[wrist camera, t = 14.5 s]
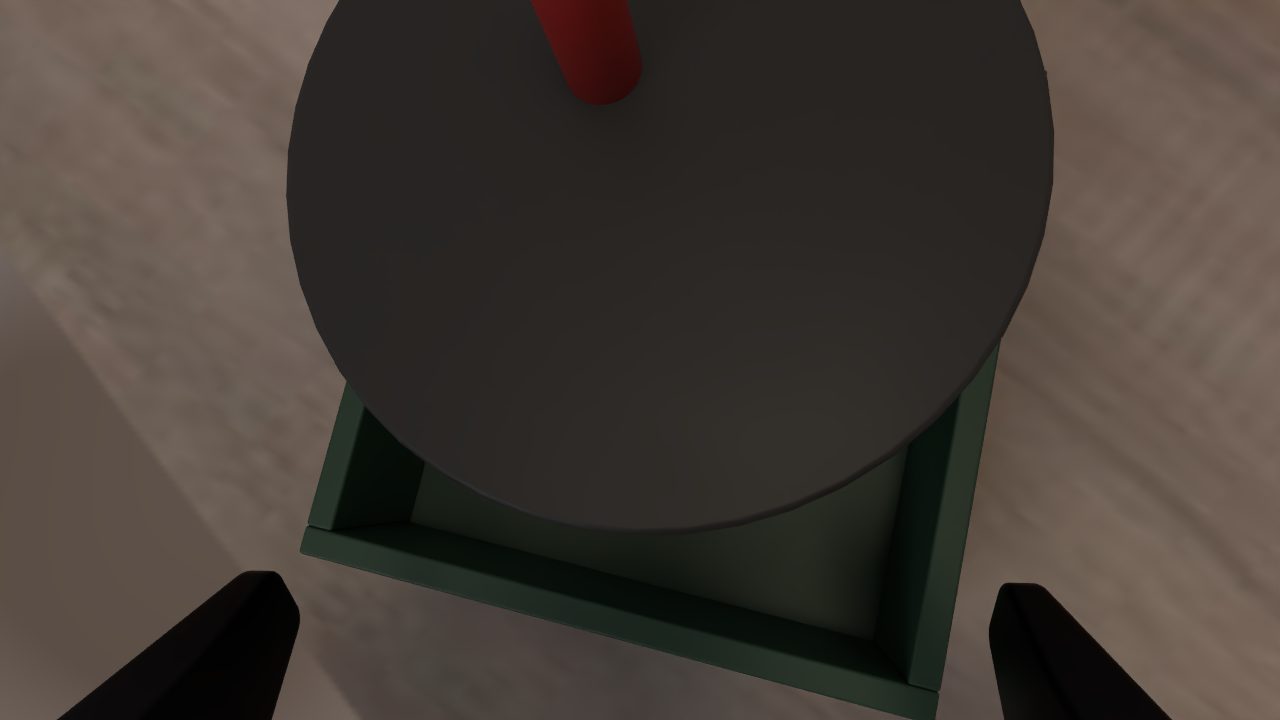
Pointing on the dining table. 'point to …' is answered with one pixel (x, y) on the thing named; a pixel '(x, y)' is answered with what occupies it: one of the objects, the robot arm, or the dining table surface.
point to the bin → (694, 561)
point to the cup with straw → (666, 238)
